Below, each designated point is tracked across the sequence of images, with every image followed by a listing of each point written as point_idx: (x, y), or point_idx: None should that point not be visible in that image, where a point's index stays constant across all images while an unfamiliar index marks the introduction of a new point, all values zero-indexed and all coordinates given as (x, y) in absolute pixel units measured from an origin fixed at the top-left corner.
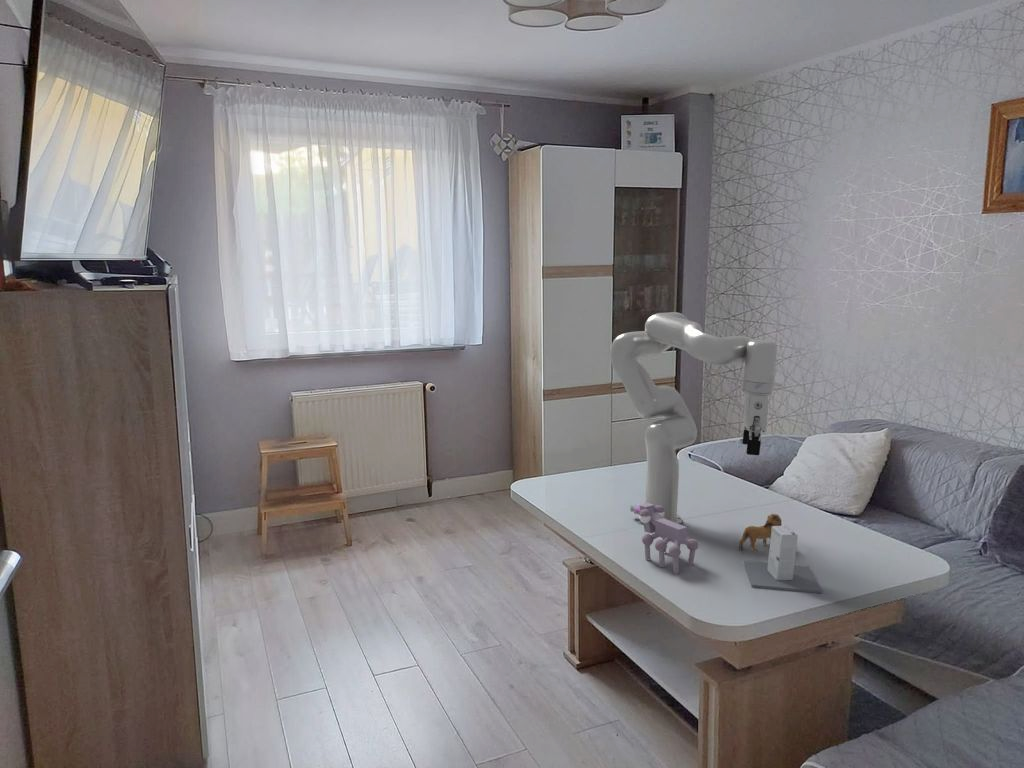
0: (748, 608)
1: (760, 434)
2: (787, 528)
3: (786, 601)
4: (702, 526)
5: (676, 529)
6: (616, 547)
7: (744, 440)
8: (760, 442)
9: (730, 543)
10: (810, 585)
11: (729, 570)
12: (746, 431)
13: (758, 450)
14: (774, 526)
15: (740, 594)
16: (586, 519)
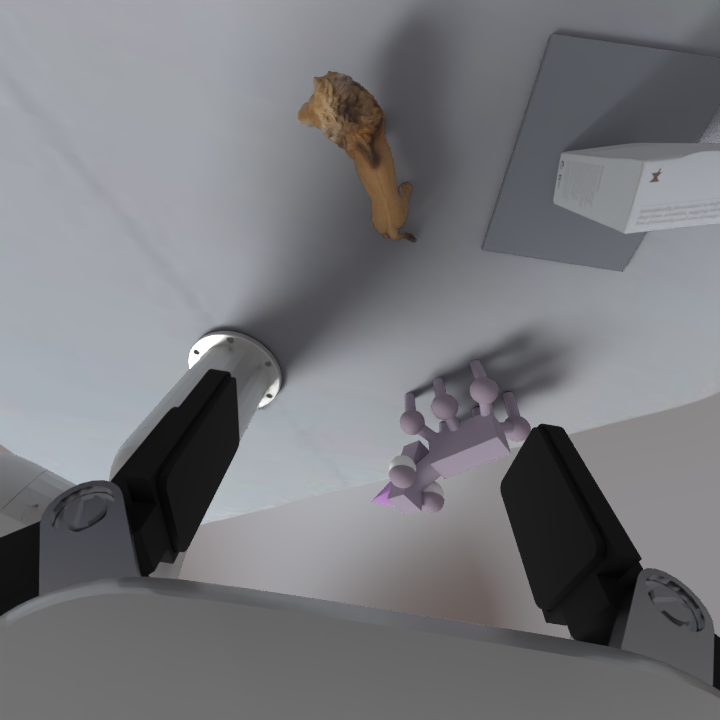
0: (716, 307)
1: (706, 680)
2: (680, 172)
3: None
4: (246, 288)
5: (504, 455)
6: (389, 456)
7: (227, 462)
8: (624, 537)
9: (351, 246)
10: (692, 90)
11: (516, 294)
12: (184, 539)
13: (572, 463)
14: (634, 224)
15: (645, 304)
16: (267, 474)
